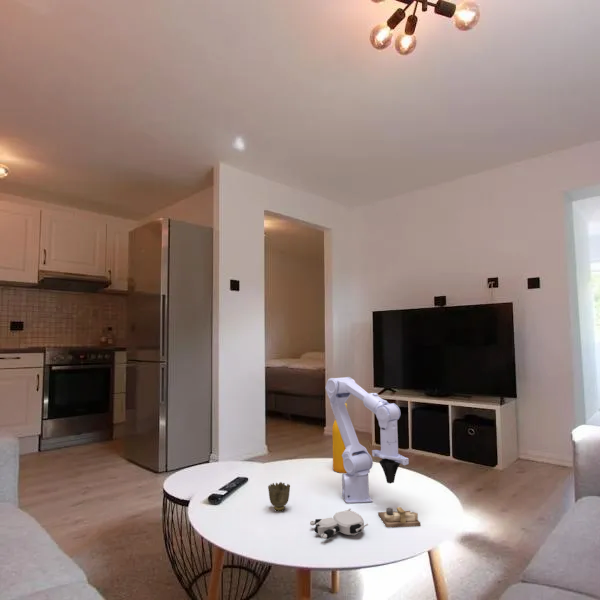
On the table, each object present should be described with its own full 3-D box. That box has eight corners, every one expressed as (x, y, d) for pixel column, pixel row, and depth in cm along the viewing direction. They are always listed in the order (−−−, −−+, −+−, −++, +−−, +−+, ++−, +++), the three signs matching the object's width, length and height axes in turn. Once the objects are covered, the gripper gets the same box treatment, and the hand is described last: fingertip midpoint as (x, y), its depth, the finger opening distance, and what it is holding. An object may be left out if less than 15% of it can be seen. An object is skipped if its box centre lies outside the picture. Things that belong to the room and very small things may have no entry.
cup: (294, 509, 144) (294, 485, 145) (279, 516, 139) (279, 490, 139) (279, 504, 149) (279, 480, 150) (263, 510, 144) (263, 485, 144)
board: (386, 527, 129) (386, 512, 129) (378, 515, 138) (377, 501, 139) (420, 526, 130) (419, 511, 130) (409, 513, 139) (409, 499, 140)
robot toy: (323, 549, 118) (371, 537, 123) (321, 532, 118) (369, 520, 123) (308, 531, 129) (353, 520, 134) (307, 516, 130) (351, 505, 135)
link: (386, 521, 130) (385, 516, 130) (383, 517, 134) (383, 512, 134) (419, 521, 131) (419, 515, 131) (416, 516, 134) (415, 511, 134)
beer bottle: (339, 466, 194) (338, 401, 197) (357, 469, 189) (355, 402, 192) (328, 471, 187) (327, 404, 190) (347, 474, 182) (346, 405, 185)
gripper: (365, 438, 147) (366, 479, 145) (397, 446, 135) (399, 490, 134) (379, 435, 151) (380, 475, 150) (412, 443, 139) (413, 486, 138)
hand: (390, 482), depth 142 cm, fingers closed
